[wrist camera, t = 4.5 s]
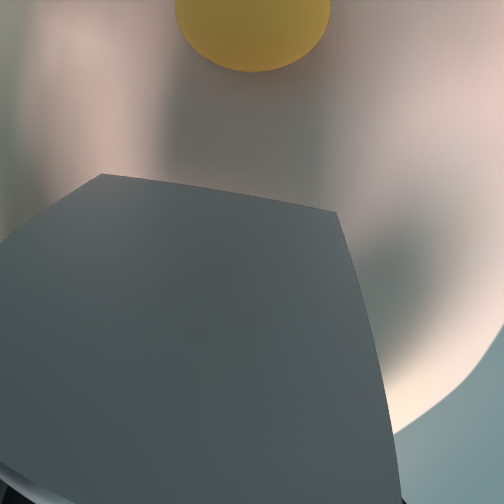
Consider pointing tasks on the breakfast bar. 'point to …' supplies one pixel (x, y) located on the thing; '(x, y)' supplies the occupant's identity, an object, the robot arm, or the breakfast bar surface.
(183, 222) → the matte grey cube
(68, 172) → the breakfast bar surface
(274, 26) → the ball
